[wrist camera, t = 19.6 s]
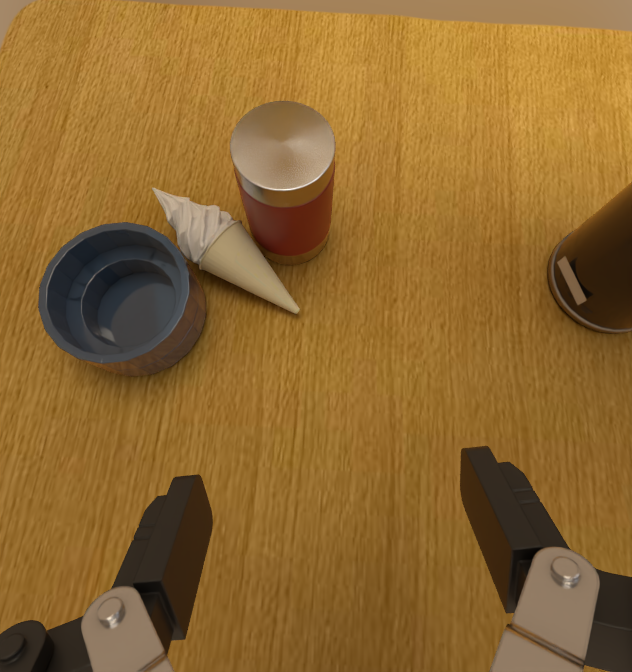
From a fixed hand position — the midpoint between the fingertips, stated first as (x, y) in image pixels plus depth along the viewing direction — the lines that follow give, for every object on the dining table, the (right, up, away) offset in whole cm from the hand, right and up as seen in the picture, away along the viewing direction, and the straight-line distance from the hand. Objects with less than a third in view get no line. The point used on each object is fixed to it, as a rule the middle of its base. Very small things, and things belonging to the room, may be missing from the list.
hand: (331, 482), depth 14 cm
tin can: (-3, +14, +25) cm, 29 cm away
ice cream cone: (-2, +6, +22) cm, 23 cm away
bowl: (-15, +6, +23) cm, 28 cm away
